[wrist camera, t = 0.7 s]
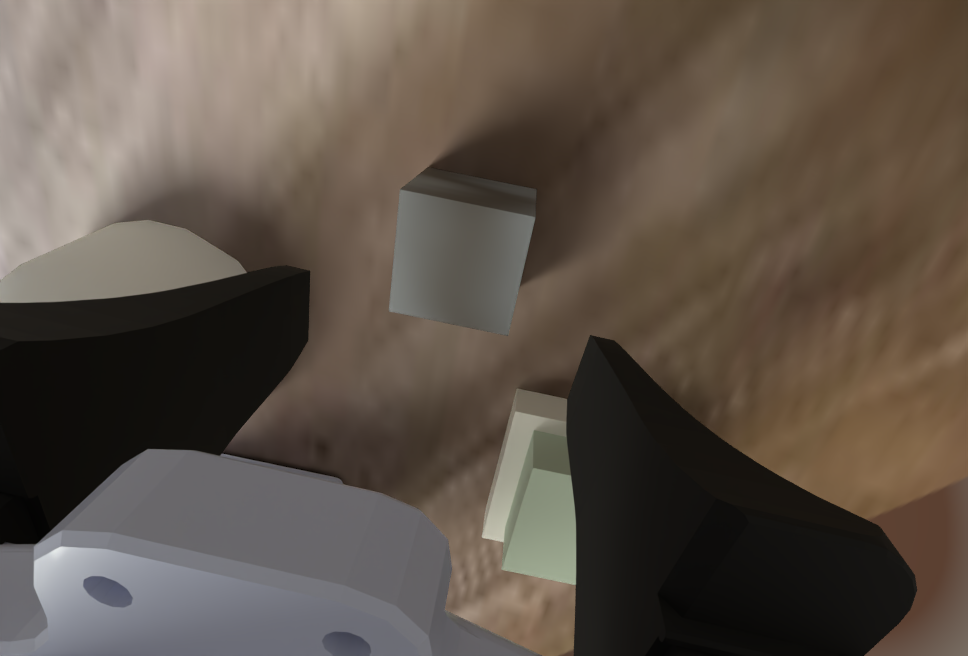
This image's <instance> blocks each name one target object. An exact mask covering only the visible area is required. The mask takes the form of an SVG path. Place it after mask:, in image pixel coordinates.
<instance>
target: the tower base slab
mask: <svg viewBox="0 0 968 656" xmlns="http://www.w3.org/2000/svg"><path fill="white" fill-rule="evenodd" d="M566 416H567V399H565V398H561V397H556V396H551V395H546V394H541V393H537V392H532V391H527V390H522V389H517V390H516V394H515V398H514V401H513V405H512V409H511V413H510V417H509V421H508V425H507V429H506V432H505V436H504V440H503V444H502V448H501V452H500V456H499V459H498V463H497V467H496V471H495V475H494V479H493V483H492V487H491V490H490V494H489V498H488V502H487V506H486V510H485V517H484V525H483V533H482V538H487V539H491V540H496V541H501V542H504V532H505V526H506V522H507V519H508V516H509V512H510V509H511V505H512V502H513V499H514V495H515V492H516V488H517V485H518V481H519V478H520V475H521V471H522V468H523V464H524V461H525V458H526V454H527V451H528V448H529V444H530V441H531V437H532V434H533V431H534V430H535V431H540V432H545V433H550V434H554V435H559V436H564V437H567V436H566Z"/></svg>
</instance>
